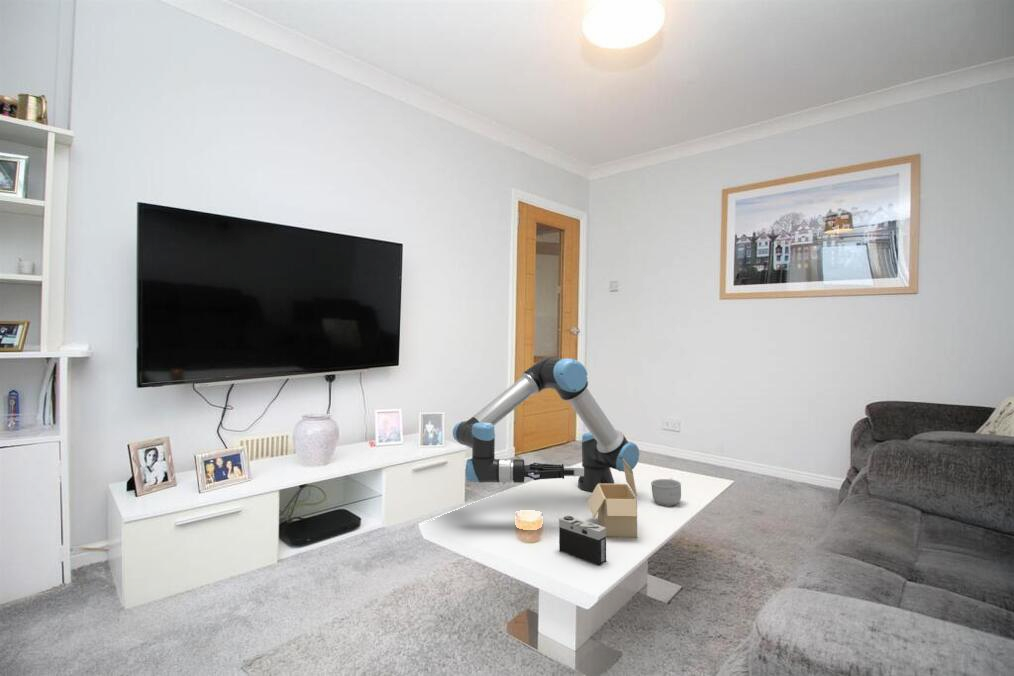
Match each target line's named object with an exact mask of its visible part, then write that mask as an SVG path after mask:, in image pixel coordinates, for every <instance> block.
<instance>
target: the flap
mask: <svg viewBox="0 0 1014 676" xmlns="http://www.w3.org/2000/svg"><path fill="white" fill-rule="evenodd" d="M622 461H623V466H624V471H625V472H624V475H625V482H626V484H627V485H628V487H629V488H630V490H631V491H632V493H633V494H634V496H635V497H637V496H638V493H637V489H636V484H635V483H636V482H635V478H634V471H633V469H631V468H630V467H629V466H628V464H627V463H626V462H625V460H624V459H622Z"/></svg>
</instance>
